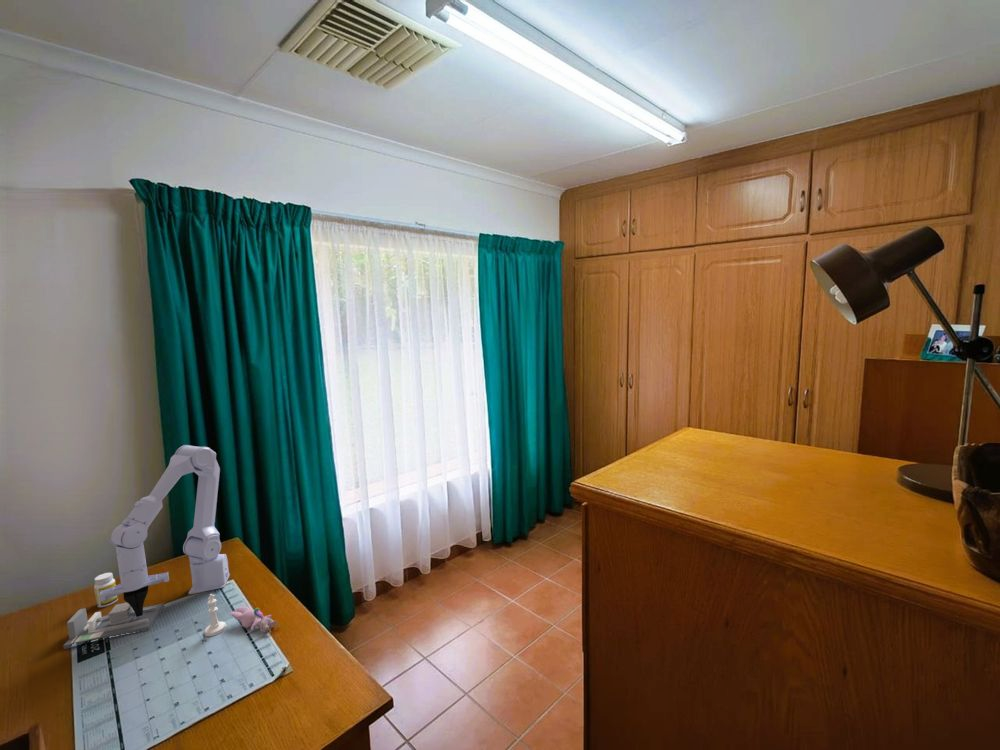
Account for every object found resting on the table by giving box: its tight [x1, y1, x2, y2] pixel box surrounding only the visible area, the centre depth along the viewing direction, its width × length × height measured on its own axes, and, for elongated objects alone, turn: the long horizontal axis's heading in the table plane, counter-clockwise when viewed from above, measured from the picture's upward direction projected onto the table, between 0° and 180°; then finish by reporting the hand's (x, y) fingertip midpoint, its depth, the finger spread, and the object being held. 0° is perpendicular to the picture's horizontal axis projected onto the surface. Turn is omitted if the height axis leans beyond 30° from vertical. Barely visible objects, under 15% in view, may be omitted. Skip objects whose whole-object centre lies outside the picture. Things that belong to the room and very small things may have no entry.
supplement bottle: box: [93, 572, 119, 608], centre depth 133 cm, size 5×5×8 cm
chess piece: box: [204, 593, 227, 637], centre depth 118 cm, size 5×5×10 cm
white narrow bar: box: [84, 611, 103, 632], centre depth 119 cm, size 1×7×3 cm, turn 20°
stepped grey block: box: [96, 602, 135, 627], centre depth 121 cm, size 8×4×4 cm, turn 110°
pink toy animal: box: [229, 605, 280, 634], centre depth 119 cm, size 6×6×15 cm
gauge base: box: [62, 602, 165, 650], centre depth 121 cm, size 18×11×6 cm, turn 110°
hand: (139, 614), depth 123 cm, fingers closed
